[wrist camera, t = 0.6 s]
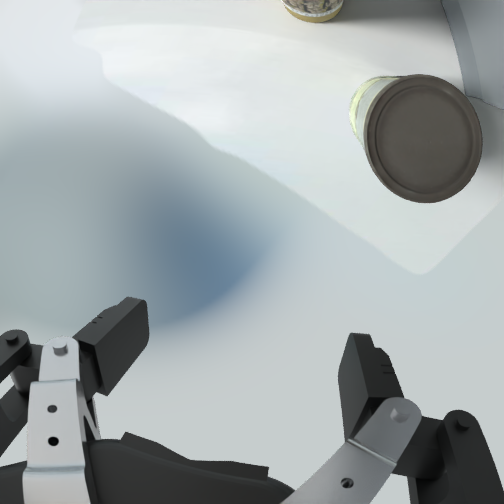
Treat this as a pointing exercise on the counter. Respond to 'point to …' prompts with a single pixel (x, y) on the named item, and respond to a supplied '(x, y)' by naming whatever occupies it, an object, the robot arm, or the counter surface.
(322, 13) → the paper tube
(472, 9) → the lid
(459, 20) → the case
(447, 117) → the coffee can
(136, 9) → the counter surface
